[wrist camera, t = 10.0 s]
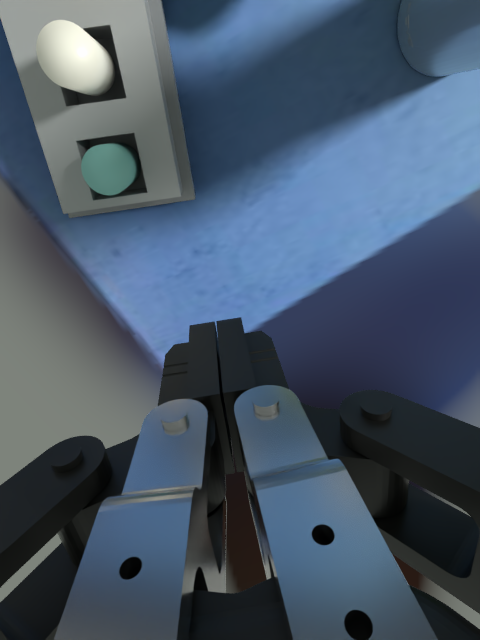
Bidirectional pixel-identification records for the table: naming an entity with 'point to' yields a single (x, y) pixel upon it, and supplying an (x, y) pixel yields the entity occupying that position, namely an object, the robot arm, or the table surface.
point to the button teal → (110, 167)
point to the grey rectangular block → (106, 101)
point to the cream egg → (74, 58)
